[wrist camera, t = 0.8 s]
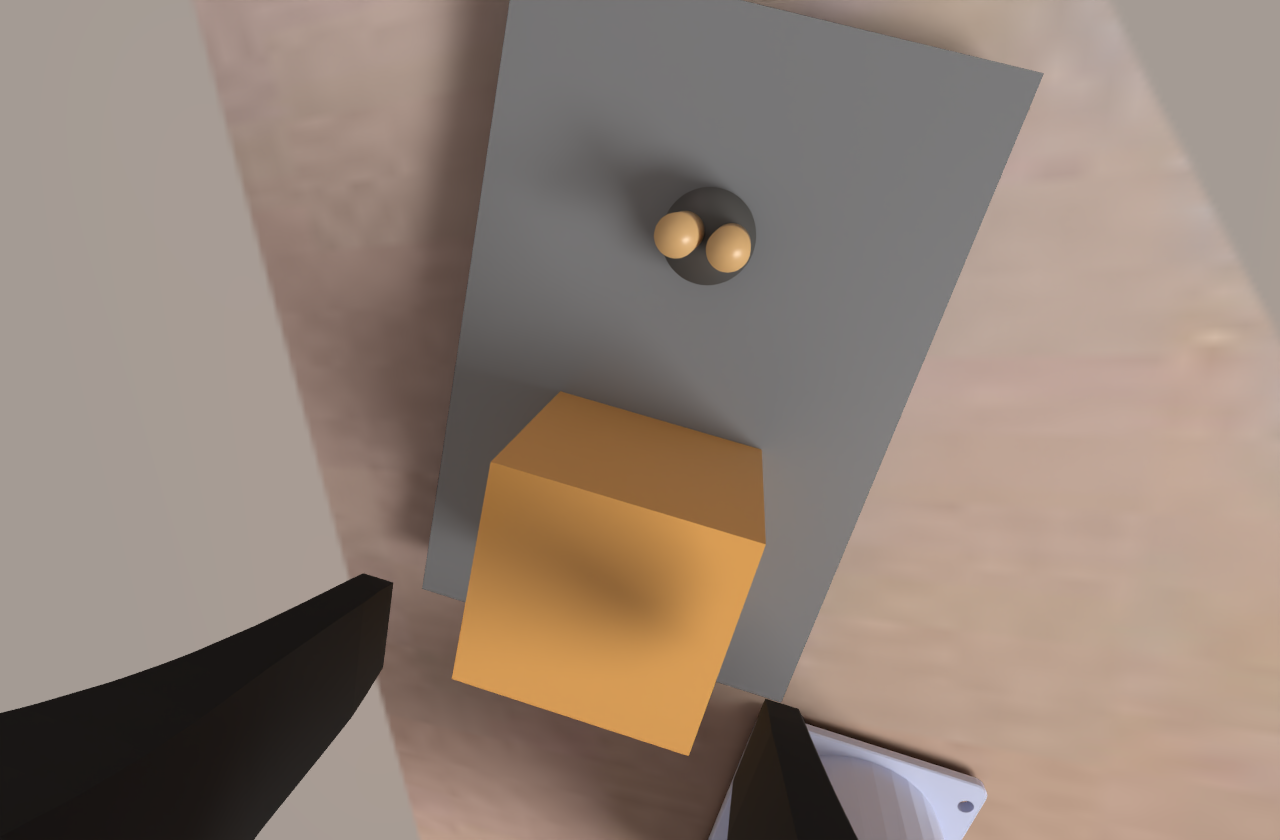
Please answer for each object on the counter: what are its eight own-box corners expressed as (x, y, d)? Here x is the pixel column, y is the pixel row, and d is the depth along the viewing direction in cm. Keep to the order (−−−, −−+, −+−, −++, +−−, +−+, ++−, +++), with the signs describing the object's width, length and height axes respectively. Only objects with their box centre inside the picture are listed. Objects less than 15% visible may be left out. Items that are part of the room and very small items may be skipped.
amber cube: (703, 619, 20) (688, 756, 15) (523, 563, 20) (451, 678, 15) (761, 449, 18) (765, 544, 13) (560, 391, 18) (490, 462, 13)
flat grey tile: (778, 659, 22) (786, 789, 17) (449, 556, 23) (368, 653, 18) (1009, 88, 16) (1123, 39, 11) (543, -26, 17) (458, -118, 12)
